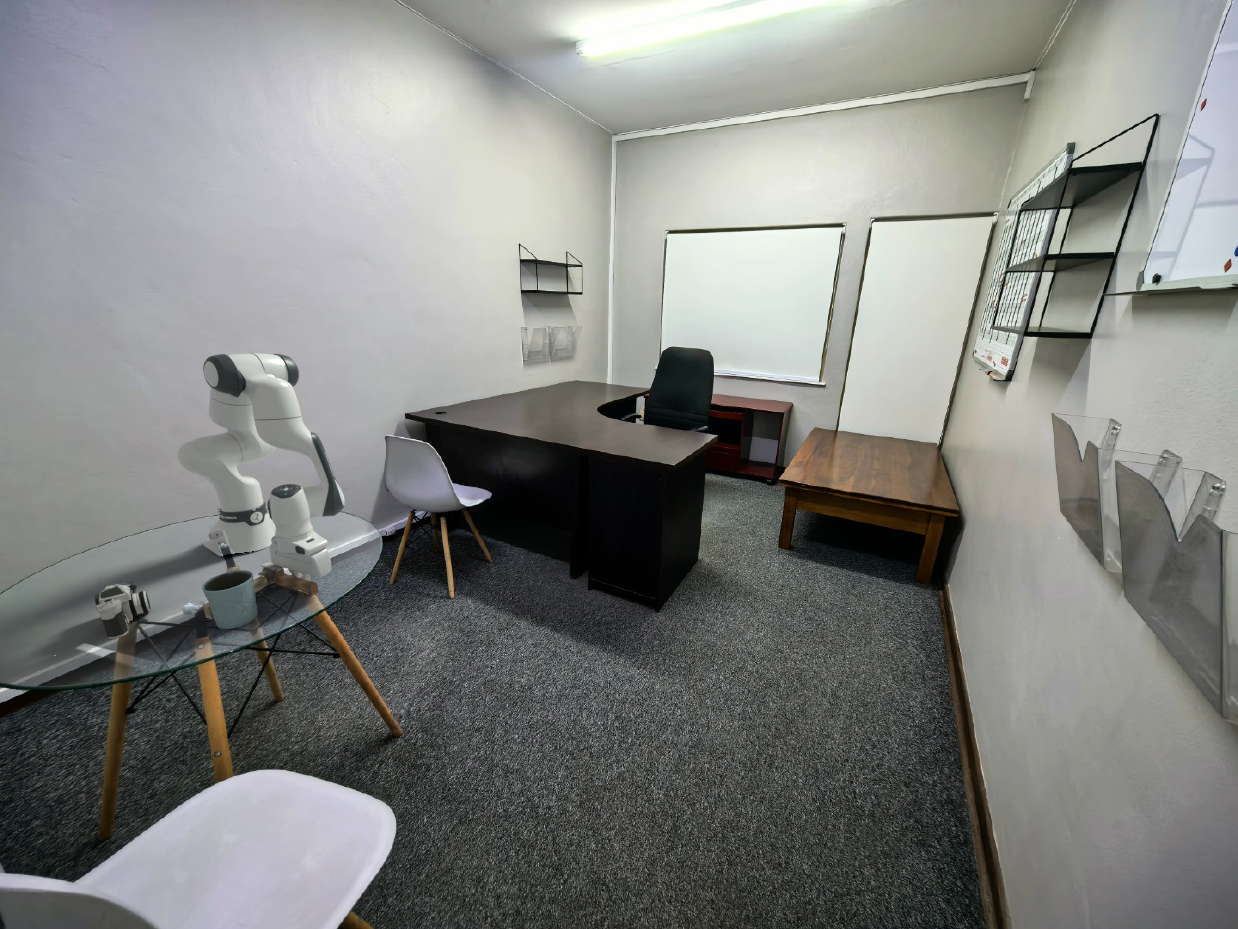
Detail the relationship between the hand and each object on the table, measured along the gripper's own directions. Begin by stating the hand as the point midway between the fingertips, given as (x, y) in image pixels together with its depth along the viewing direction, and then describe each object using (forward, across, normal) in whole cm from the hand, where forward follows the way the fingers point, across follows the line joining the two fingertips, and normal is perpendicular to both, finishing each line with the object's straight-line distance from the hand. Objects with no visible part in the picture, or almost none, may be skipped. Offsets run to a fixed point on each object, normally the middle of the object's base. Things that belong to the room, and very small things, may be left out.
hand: (304, 582), depth 134 cm
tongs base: (+2, -11, -2) cm, 12 cm away
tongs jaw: (+2, -11, -2) cm, 12 cm away
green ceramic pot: (+2, -3, -17) cm, 17 cm away
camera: (+3, -28, -28) cm, 39 cm away
